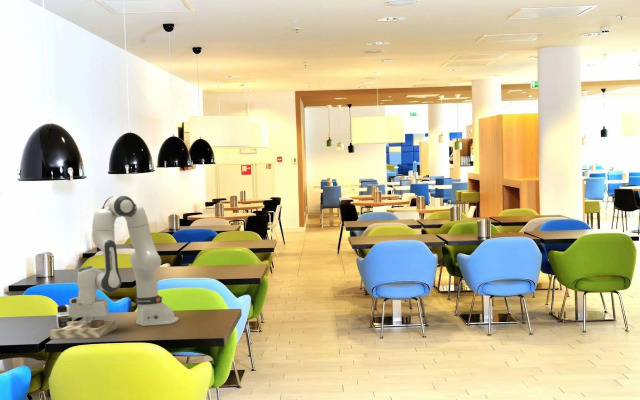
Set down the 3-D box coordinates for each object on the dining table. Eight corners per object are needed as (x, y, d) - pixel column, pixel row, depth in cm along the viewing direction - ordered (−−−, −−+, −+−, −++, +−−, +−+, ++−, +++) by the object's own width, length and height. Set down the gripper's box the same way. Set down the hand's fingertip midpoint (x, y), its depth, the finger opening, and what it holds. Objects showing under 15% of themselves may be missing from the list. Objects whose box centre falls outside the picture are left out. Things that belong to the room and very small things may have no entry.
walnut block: (104, 327, 371) (103, 319, 371) (99, 329, 366) (99, 321, 366) (94, 327, 372) (94, 320, 372) (90, 329, 367) (90, 322, 367)
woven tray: (115, 328, 379) (115, 320, 379) (99, 337, 359) (98, 328, 359) (69, 330, 382) (68, 321, 382) (49, 339, 362) (49, 330, 362)
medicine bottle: (58, 329, 385) (57, 307, 385) (56, 327, 392) (55, 305, 391) (72, 327, 388) (71, 305, 388) (70, 325, 395) (69, 303, 394)
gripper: (109, 296, 371) (111, 323, 372) (72, 298, 374) (73, 324, 374) (104, 299, 365) (106, 326, 365) (66, 300, 368) (68, 327, 368)
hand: (89, 325), depth 370 cm, fingers closed
